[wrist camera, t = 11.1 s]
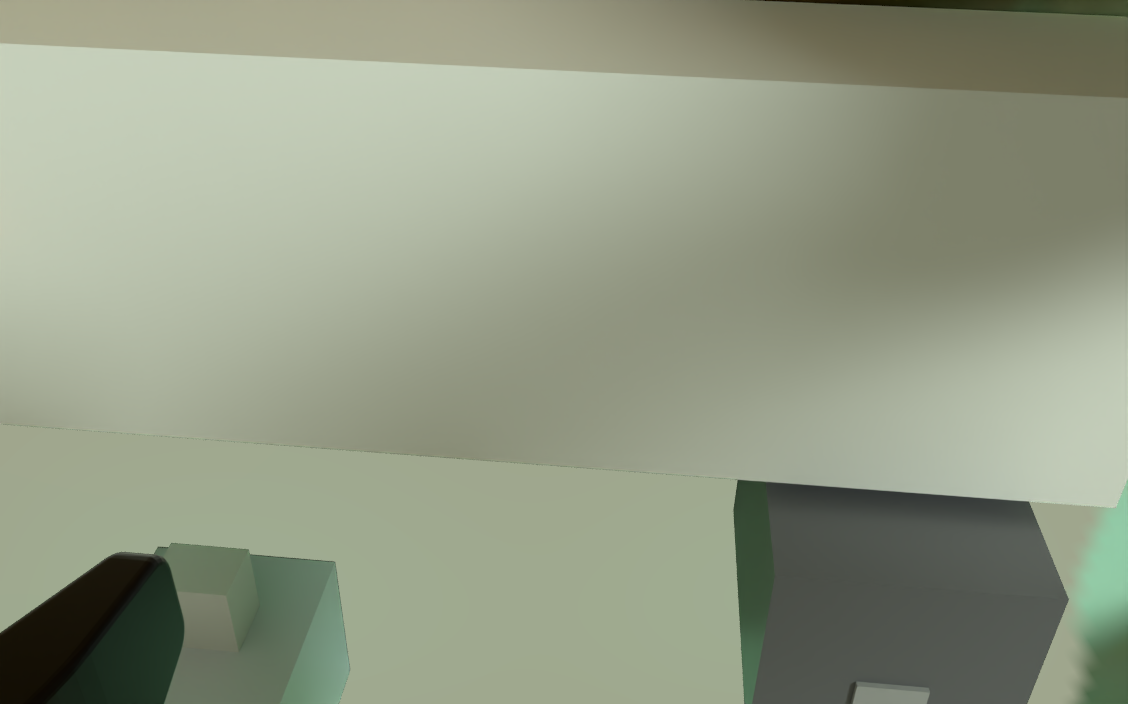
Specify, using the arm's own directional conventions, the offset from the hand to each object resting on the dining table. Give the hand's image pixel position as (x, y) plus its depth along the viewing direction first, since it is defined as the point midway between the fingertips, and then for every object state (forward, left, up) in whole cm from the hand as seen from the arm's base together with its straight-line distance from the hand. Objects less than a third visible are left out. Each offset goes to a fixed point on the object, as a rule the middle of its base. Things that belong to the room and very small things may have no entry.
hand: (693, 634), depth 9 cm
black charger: (-4, +7, -12) cm, 15 cm away
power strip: (+3, +2, -12) cm, 13 cm away
